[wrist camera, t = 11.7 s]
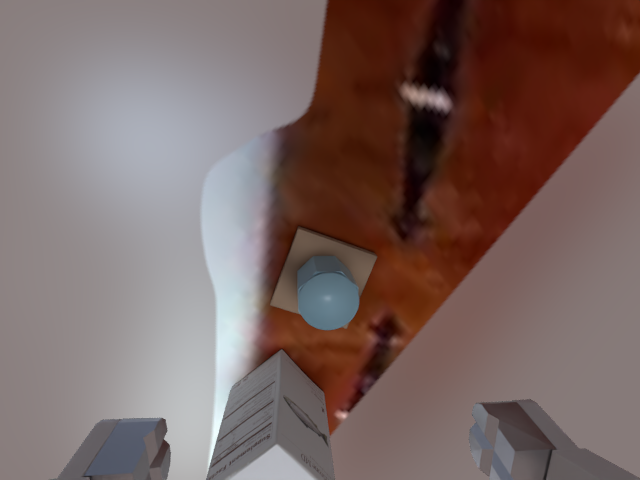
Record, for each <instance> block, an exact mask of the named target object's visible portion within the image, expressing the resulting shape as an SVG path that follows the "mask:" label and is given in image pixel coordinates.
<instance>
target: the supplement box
mask: <svg viewBox="0 0 640 480" xmlns="http://www.w3.org/2000/svg"><path fill="white" fill-rule="evenodd" d="M206 480H335V476H334V468H333V460H332V452H331V445H330V436H329V428H328V420H327V412H326V405H325V397H324V392H323V391H322V390H321V389H320V388H319V387H317V386H316V385H315V384H314V383H313V382H312V381H311V380H310V379H309V378H308V377H307V376H306V375H305V374H304V373H303V372H302V370H301V369H300V368H299V367H298V366H297V365H296V364H295V363H294V362H293V361H292V360H291V359H290V357H289V356H288V355H287V354H286V353H285V352H284V351H283V350H282V349H281V350H280V351H279V352H277V353H276V354H274V355H273V356H272V357H271V358H269V359H268V360H267V361H265V362H264V363H263V364H261V365H260V366H259V367H258V368H256V369H255V370H254V371H252V372H251V373H250V374H248V375H247V376H246V377H245V378H243V379H242V380H241V381H240V382H238V383H237V384H236V385H234V386H233V387H232V388H231V390H230V394H229V398H228V401H227V405H226V408H225V412H224V415H223V419H222V423H221V426H220V430H219V434H218V437H217V441H216V445H215V449H214V452H213V456H212V460H211V463H210V467H209V471H208V474H207V478H206Z"/></svg>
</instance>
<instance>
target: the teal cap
mask: <svg viewBox="0 0 640 480" xmlns="http://www.w3.org/2000/svg"><path fill="white" fill-rule="evenodd" d="M297 295H298V312H299V313H300V314H301V315H302V317H303V318H304V320H305V321H306V322H307V323H309V324H310V325H311V326H313V327H315V328H318V329H322V330H333V329H337V328H340V327H342V326H344V325H346V324H347V323H348V322H350V321H351V320H352V318H353V317H354V316H355V314H356V312H357V310H358V306H359V295H358V286H357V284H356V282H355V280H354V278H353V276H352V274H351V272H350V270H349V269H348V268H347V267H346V266H345V265H344V264H343V263H342V262H341V261H340V260H339V259H338V258H337V257H336V256H313V257H312V258H310V259H309V260H308V261H307V262H306V263H305V264H304V265H303V266H302V267H301V268H300V269H299V270H298V271H297Z"/></svg>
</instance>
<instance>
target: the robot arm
mask: <svg viewBox="0 0 640 480" xmlns="http://www.w3.org/2000/svg"><path fill="white" fill-rule="evenodd" d="M472 416H473V417H474V419H475V421H476V423H475V424H474V425H473V426H472V427H471V429H470V434H469V443H470V449H471V453H472V456H473V458H474V461H475V463H476V464H477V466H478V468H479V469H480V470H481V471H483V472H484V473H485V474H486V475H488V476H489V477H490V478H489V480H640V478H639V477H637V476H635V475H633V474H631V473H629V472H628V471H626V470H624V469H622V468H620V467H618V466H617V465H615V464H613V463H611V462H609V461H607V460H606V459H604V458H602V457H600V456H598V455H596V454H594V453H592V452H591V451H589V450H587V449H579V448H578V447H577V446H576V445H575V443H574V442H572V440H571V439H570V438H569V437H568V436H567V435H566V434H565V433H564V432H563V431H562V430H561V429H560V427H559V426H558V425H557V424H556V423H555V422H554V421H553V420H552V419H551V418H550V417H549V416H548V415H547V413H546V412H545V411H544V410H543V409H542V408H541V407H540V406H539V405H538V404H537V403H536V402H535V401H533V400H531V399H527V400H513V401H501V402H482V403H476V404H475V405H474V407H473V412H472ZM166 433H167V426H166V420H165V419H163V418H136V419H135V418H134V419H110V420H101V421H100V422H98V423H97V424H96V425H95V426H94V428H93V429H92V431H91V432H90V433H89V435H88V436H87V437H86V439H85V440H84V442H83V443H82V444H81V446H80V447H79V449H78V450H77V451H76V453H75V454H74V456H73V457H72V458H71V460H70V461H69V463H68V464H67V465H66V467H65V468H64V469H63V471H62V472H61V474H60V475H59V476H58V478H57V479H50V480H166V479H167V477H168V472H169V467H170V455H171V452H170V445H169V444H168V443H167V442H166V441H165V440H164V437H165V435H166Z"/></svg>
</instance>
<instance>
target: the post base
mask: <svg viewBox="0 0 640 480" xmlns="http://www.w3.org/2000/svg"><path fill="white" fill-rule="evenodd" d="M313 256H336V257H337V258H338V259H339V260H340V261H341V262H342V263H343V264H344V265H345V266H346V267H347V268H348V269H349V270H350V272H351V274H352V276H353V278H354V280H355V282H356V284H357V286H358V295H359V298H360V296H361V294H362V291H363V289H364V287H365V284H366V282H367V280H368V277H369V275H370V273H371V270H372V268H373V265H374V263H375V261H376V258H377V255H376V254H375V253H373V252H370V251H367V250H365V249H362V248H359V247H356V246H353V245H350V244H348V243H345V242H342V241H339V240H336V239H333V238H331V237H328V236H325V235H322V234H319V233H316V232H314V231H311V230H308V229H305V228H302V227H299V226H298V228H297V231H296V234H295V236H294V239H293V242H292V244H291V247H290V250H289V253H288V255H287V258H286V261H285V263H284V266H283V269H282V272H281V274H280V277H279V280H278V282H277V285H276V288H275V290H274V293H273V296H272V299H271V303H270V305H272V306H275V307H278V308H281V309H285V310H288V311H291V312H294V313H297V314H300V313H299V312H298V295H297V271H298V270H299V269H300V268H301V267H302V266H303V265H304V264H305V263H306V262H307V261H308V260H309V259H310V258H312V257H313ZM348 324H349V322H348V323H347V324H346V325H344V326H342V328H346V329H347V327H348Z"/></svg>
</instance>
